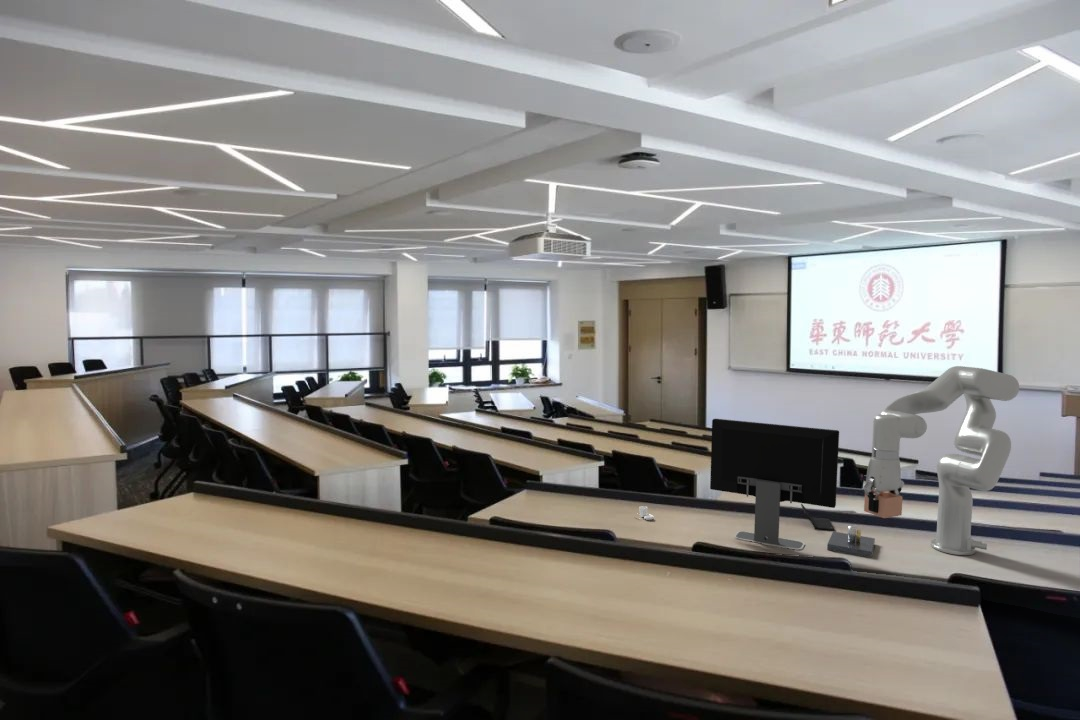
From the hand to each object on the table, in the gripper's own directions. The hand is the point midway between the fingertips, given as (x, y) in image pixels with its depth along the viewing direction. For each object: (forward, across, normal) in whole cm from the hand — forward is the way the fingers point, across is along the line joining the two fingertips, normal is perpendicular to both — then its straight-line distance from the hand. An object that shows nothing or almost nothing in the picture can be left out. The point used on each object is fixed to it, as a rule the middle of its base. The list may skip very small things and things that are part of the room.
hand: (882, 509), depth 208 cm
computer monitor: (+17, +20, -28) cm, 38 cm away
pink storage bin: (+1, 0, 0) cm, 1 cm away
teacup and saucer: (+17, +50, -63) cm, 82 cm away
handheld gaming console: (+17, -8, -34) cm, 39 cm away
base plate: (+17, -2, -13) cm, 21 cm away
